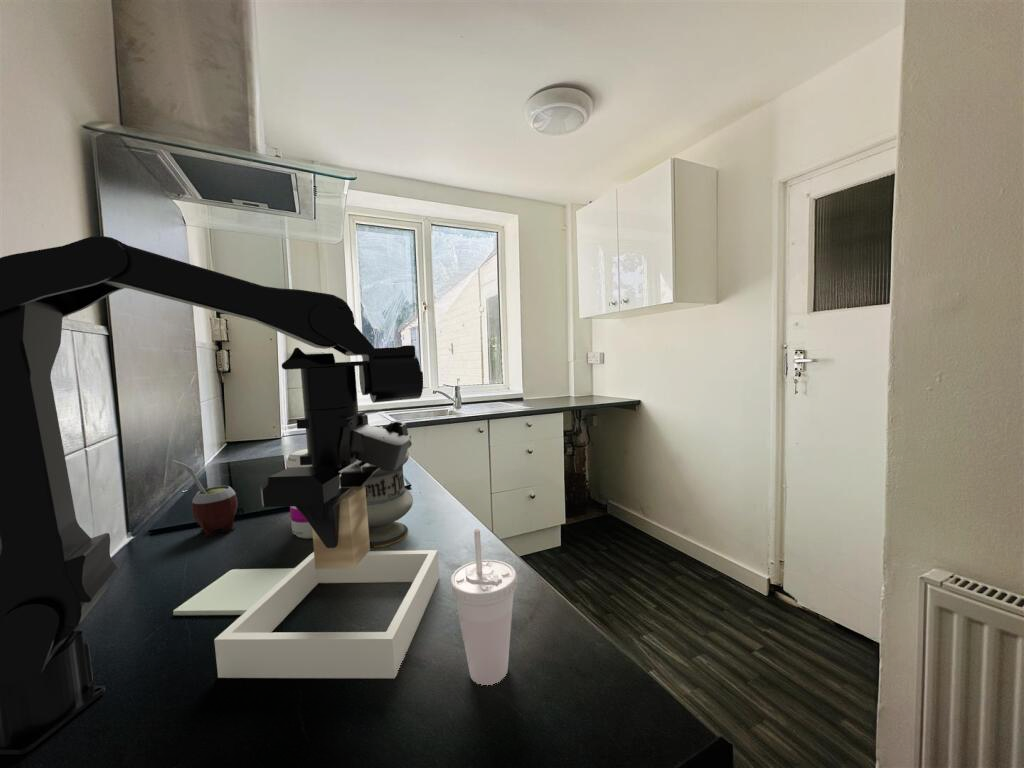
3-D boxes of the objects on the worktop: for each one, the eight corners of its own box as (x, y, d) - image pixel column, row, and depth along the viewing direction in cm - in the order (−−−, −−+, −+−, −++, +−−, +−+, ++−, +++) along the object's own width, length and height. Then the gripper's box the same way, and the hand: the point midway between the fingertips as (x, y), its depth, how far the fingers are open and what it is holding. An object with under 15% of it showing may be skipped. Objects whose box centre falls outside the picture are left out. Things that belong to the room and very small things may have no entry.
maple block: (353, 568, 47) (348, 499, 46) (315, 569, 47) (309, 500, 46) (370, 549, 51) (365, 486, 50) (334, 550, 51) (329, 487, 51)
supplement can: (287, 543, 71) (280, 458, 70) (298, 524, 79) (292, 448, 78) (337, 535, 74) (331, 452, 73) (343, 518, 82) (337, 443, 80)
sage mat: (249, 614, 51) (249, 610, 51) (173, 615, 52) (173, 610, 52) (296, 572, 61) (296, 568, 61) (232, 573, 62) (231, 569, 62)
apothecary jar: (331, 554, 66) (322, 444, 65) (356, 524, 78) (349, 430, 77) (406, 549, 67) (399, 440, 66) (420, 520, 79) (414, 427, 78)
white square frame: (395, 678, 40) (392, 638, 40) (218, 677, 41) (214, 639, 41) (439, 577, 58) (437, 550, 58) (315, 579, 59) (312, 552, 59)
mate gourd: (248, 523, 82) (241, 448, 81) (219, 541, 74) (210, 458, 73) (211, 524, 82) (203, 449, 81) (178, 542, 74) (169, 460, 73)
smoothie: (487, 639, 45) (480, 513, 44) (534, 665, 41) (528, 527, 40) (441, 676, 40) (433, 535, 39) (491, 710, 36) (482, 554, 35)
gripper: (366, 416, 38) (378, 580, 39) (422, 395, 56) (429, 507, 58) (250, 421, 39) (265, 581, 40) (343, 399, 57) (352, 509, 58)
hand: (342, 537), depth 49 cm, fingers closed on maple block, 4 cm apart
